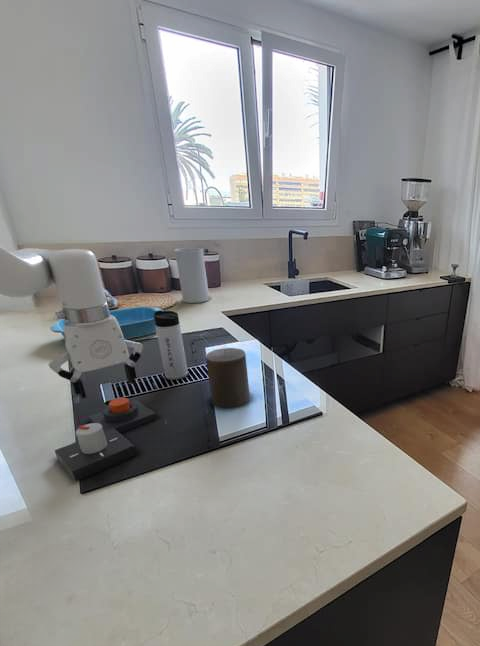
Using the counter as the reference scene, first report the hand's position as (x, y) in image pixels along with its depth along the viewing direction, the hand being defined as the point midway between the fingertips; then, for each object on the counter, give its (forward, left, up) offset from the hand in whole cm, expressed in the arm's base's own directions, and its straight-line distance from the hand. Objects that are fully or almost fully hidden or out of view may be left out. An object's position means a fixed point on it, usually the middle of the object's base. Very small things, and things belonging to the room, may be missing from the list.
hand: (108, 388), depth 86 cm
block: (+2, +3, -11) cm, 12 cm away
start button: (+2, +3, -7) cm, 8 cm away
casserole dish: (+26, +70, -11) cm, 75 cm away
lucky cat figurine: (+37, +111, -11) cm, 117 cm away
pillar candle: (+25, -7, -11) cm, 28 cm away
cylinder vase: (+75, +97, -11) cm, 123 cm away
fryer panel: (-7, -8, -11) cm, 15 cm away
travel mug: (+23, +18, -11) cm, 31 cm away
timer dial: (-7, -8, -8) cm, 13 cm away
